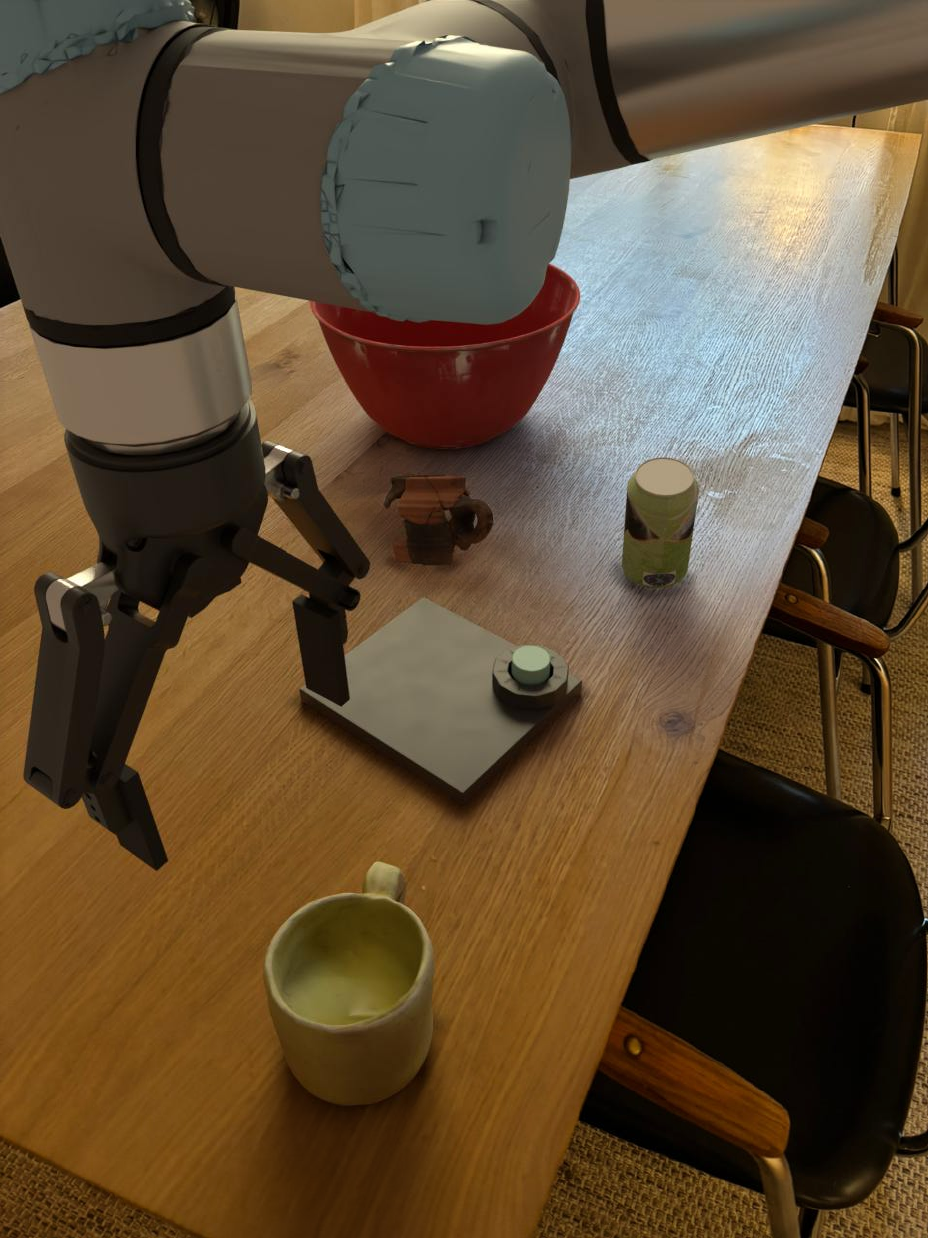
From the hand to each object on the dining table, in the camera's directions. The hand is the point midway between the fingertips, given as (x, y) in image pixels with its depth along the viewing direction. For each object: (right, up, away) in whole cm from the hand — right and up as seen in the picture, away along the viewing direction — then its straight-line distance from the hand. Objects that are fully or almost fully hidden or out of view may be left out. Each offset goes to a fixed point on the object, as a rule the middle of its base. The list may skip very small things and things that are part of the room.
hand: (243, 767), depth 53 cm
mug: (+6, -16, +7) cm, 18 cm away
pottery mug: (+9, +15, +43) cm, 47 cm away
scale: (+10, +2, +27) cm, 29 cm away
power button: (+17, +4, +25) cm, 31 cm away
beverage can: (+29, +12, +39) cm, 50 cm away
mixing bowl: (+10, +31, +62) cm, 70 cm away
